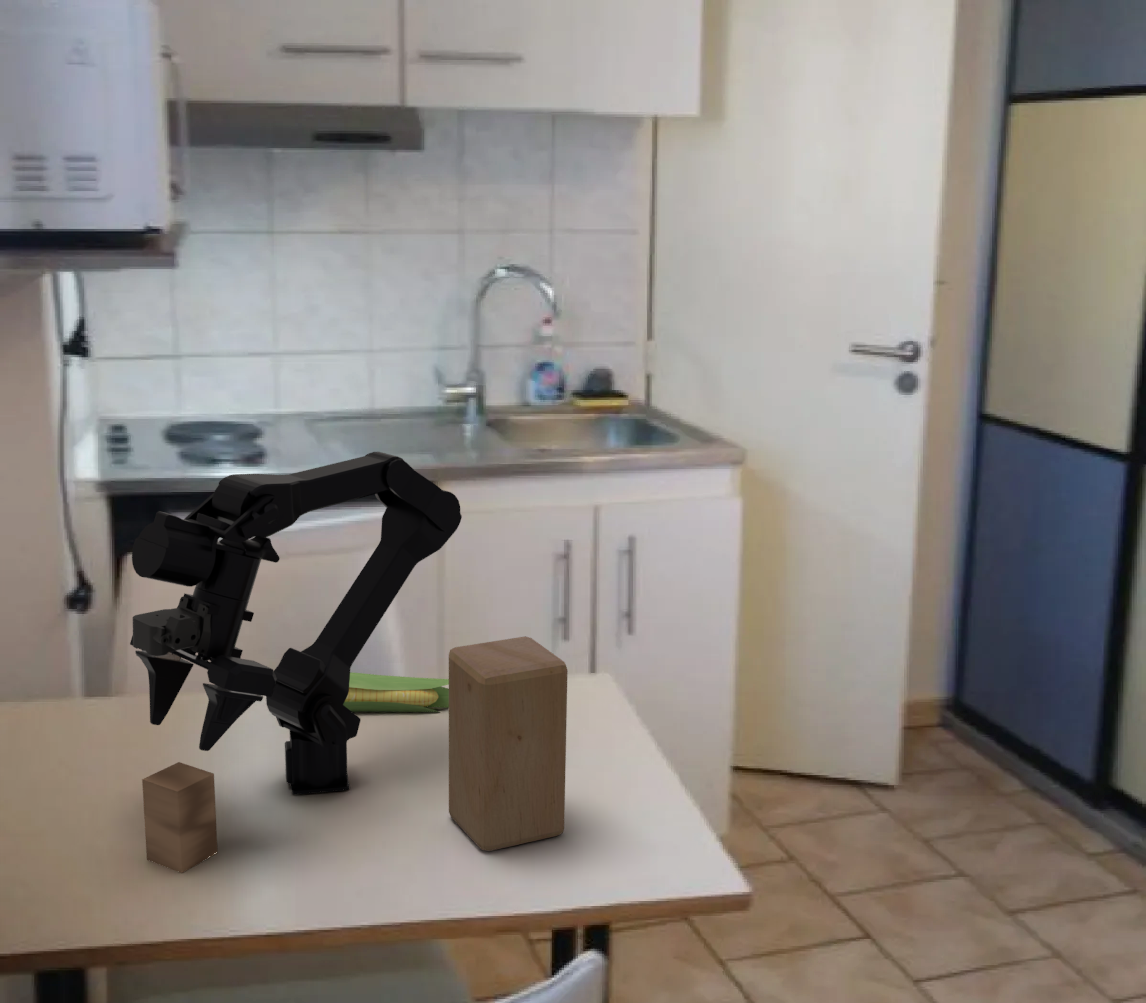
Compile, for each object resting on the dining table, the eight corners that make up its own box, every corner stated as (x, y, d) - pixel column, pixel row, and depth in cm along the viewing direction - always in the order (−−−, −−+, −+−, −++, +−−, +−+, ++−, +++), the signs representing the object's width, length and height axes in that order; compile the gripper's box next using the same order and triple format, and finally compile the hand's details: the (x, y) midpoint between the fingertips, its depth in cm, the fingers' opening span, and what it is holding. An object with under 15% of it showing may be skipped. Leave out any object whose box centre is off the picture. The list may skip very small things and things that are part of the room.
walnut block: (182, 840, 156) (178, 762, 154) (217, 853, 153) (213, 773, 151) (146, 859, 152) (142, 779, 149) (181, 873, 149) (177, 791, 147)
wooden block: (482, 856, 154) (483, 676, 149) (445, 816, 162) (445, 645, 157) (567, 837, 158) (571, 662, 153) (527, 799, 167) (529, 632, 162)
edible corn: (313, 669, 193) (308, 672, 188) (466, 676, 193) (465, 679, 189) (311, 708, 193) (306, 712, 188) (464, 715, 193) (463, 719, 189)
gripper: (109, 560, 155) (65, 704, 155) (210, 602, 143) (163, 757, 142) (196, 579, 164) (154, 715, 163) (298, 619, 151) (254, 766, 151)
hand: (178, 737), depth 154 cm, fingers open, 9 cm apart
